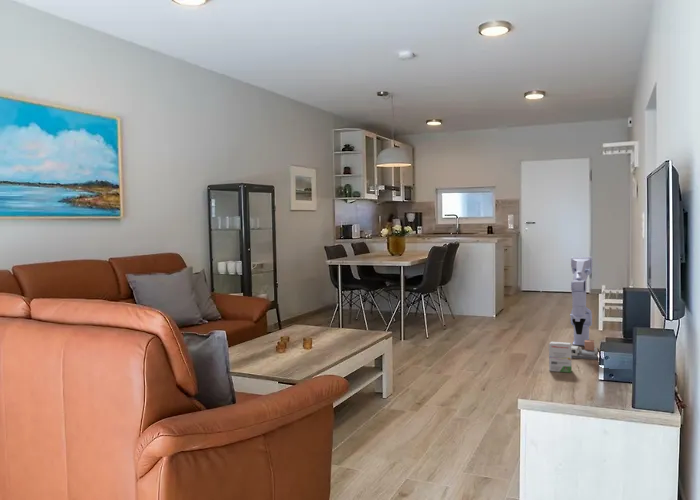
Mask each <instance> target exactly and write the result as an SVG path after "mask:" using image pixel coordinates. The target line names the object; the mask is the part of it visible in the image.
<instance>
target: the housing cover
mask: <svg viewBox="0 0 700 500" xmlns="http://www.w3.org/2000/svg"><path fill="white" fill-rule="evenodd" d="M578 349H579V345H572V344H571V350H573V351H574V352H575V353H577V355H578Z"/></svg>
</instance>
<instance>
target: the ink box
mask: <svg viewBox="0 0 700 500" xmlns="http://www.w3.org/2000/svg"><path fill="white" fill-rule="evenodd" d="M571 345H572V342H565V341H564V342H562V341H549V343H548V359H549V361H548V363H549V364H548V371H549V372H557V373H568V374H569V373H570V374H571V373H572V371H573V369H572V367H573V366H572V361H573V360H572V358H571Z"/></svg>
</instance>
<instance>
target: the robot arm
mask: <svg viewBox="0 0 700 500" xmlns="http://www.w3.org/2000/svg"><path fill="white" fill-rule="evenodd" d="M570 265H571V266H570V268H571V272H572V274H573V276H572V277H573V278H572V281H571V283H570V289H571V290H570V291H571V296H572V298H571V299H572V303H571V304H572V305H571V306H572V308H571V311H570V314H569V317H570V324H571V326H572V327H573V342H572V343H571V345H572V346H584V347H585V340H590V327H592V326H593V312H592V310H591V309H590V308H589V307H587V279H588V277H589V276H590V275H592V272H593V257H592V256H591V255H590V256H571V258H570Z"/></svg>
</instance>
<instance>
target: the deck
mask: <svg viewBox="0 0 700 500" xmlns="http://www.w3.org/2000/svg"><path fill="white" fill-rule="evenodd" d="M597 354H598V355H599V350H598V347H594V350H585V349H583V347H582V346H578V355H577V353H575V352H574V351H573V350H571V359H583V360H584V359H587V360H598V357H597Z"/></svg>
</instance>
